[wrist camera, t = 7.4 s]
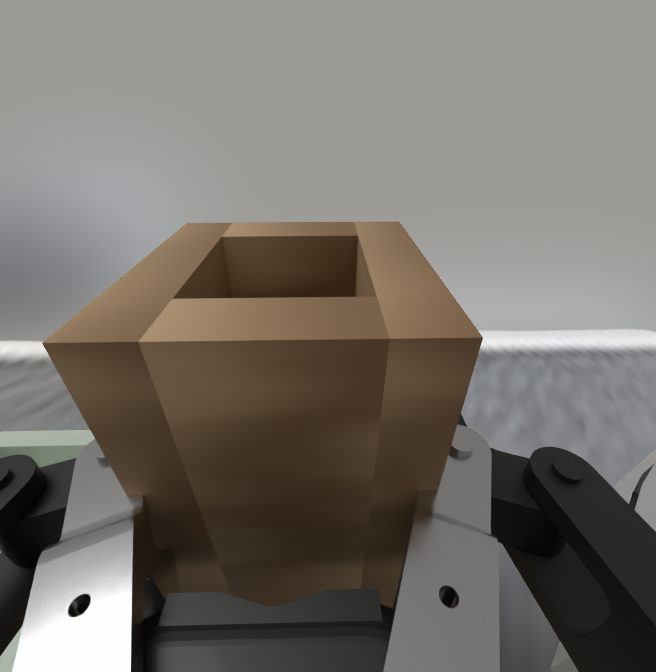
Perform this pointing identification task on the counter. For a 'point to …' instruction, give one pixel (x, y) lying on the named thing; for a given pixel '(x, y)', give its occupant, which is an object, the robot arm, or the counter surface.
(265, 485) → the sleeve
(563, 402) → the counter surface
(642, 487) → the grater
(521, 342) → the counter surface
